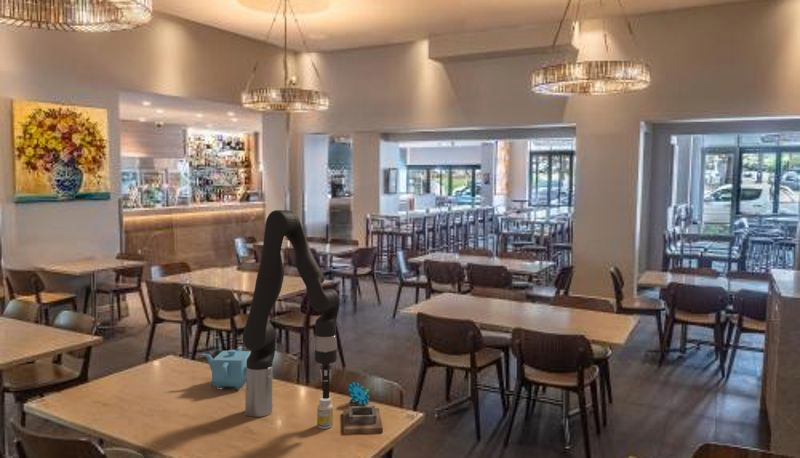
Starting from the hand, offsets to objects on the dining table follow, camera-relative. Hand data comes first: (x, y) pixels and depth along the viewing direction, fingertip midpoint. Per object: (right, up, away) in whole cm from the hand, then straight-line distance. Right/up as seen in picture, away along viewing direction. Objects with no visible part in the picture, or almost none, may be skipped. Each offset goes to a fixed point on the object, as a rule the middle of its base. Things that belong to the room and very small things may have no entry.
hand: (326, 393), depth 200 cm
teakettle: (-44, -8, +42) cm, 62 cm away
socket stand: (+12, -11, +4) cm, 17 cm away
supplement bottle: (-1, -12, +1) cm, 12 cm away
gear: (+10, -10, +23) cm, 27 cm away
